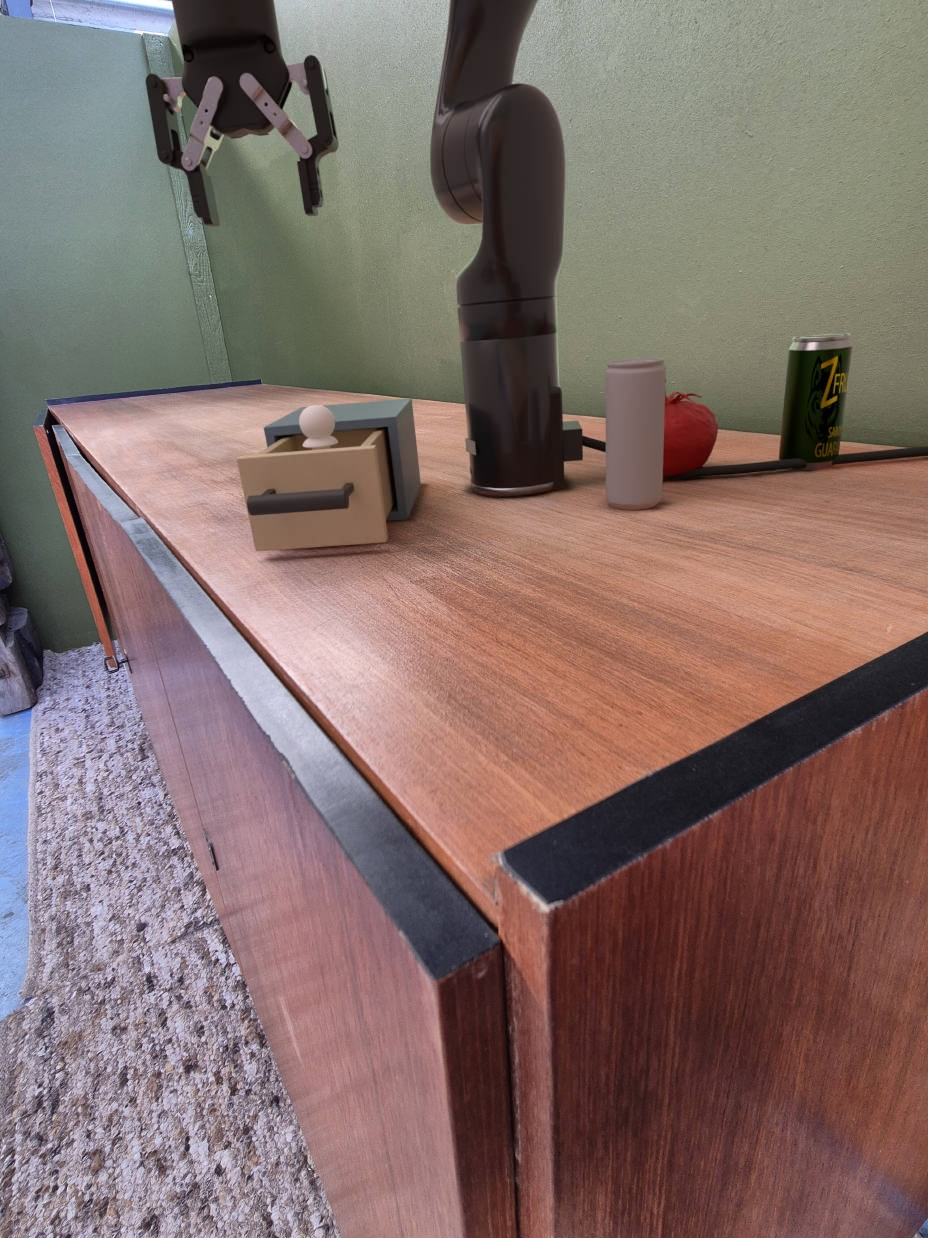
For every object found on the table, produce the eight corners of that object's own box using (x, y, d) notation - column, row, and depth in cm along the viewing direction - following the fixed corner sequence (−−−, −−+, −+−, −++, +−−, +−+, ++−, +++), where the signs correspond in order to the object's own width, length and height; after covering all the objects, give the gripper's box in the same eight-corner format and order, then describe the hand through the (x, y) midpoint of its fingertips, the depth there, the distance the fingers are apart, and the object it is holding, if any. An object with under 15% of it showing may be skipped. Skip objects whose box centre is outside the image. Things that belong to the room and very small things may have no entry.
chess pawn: (318, 527, 57) (298, 411, 53) (292, 517, 61) (272, 407, 57) (372, 513, 59) (357, 402, 56) (344, 504, 63) (328, 399, 60)
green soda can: (767, 466, 72) (778, 338, 67) (797, 457, 74) (810, 333, 70) (818, 473, 68) (833, 337, 63) (848, 462, 70) (865, 332, 66)
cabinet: (407, 519, 64) (395, 416, 61) (282, 528, 65) (263, 427, 62) (421, 485, 77) (411, 398, 73) (315, 493, 78) (301, 407, 74)
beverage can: (663, 510, 60) (667, 360, 56) (605, 511, 61) (604, 365, 57) (660, 496, 65) (664, 355, 60) (606, 497, 66) (606, 360, 61)
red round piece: (723, 481, 68) (730, 379, 64) (616, 487, 69) (616, 386, 65) (705, 460, 77) (710, 369, 73) (610, 465, 78) (610, 376, 74)
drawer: (377, 561, 51) (363, 459, 48) (236, 570, 52) (214, 471, 49) (403, 502, 67) (394, 422, 64) (295, 510, 67) (281, 431, 65)
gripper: (322, -16, 56) (352, 217, 63) (148, 4, 57) (195, 232, 64) (300, -61, 49) (336, 206, 56) (102, -37, 50) (160, 223, 57)
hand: (261, 220), depth 60 cm, fingers open, 8 cm apart
